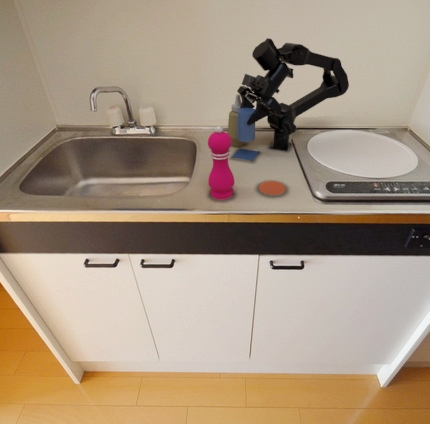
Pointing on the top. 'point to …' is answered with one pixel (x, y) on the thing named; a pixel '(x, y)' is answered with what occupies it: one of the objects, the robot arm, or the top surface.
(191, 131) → the top surface
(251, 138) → the blue tin
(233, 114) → the squeeze bottle
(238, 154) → the blue mat
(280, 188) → the terracotta mat
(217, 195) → the pepper mill
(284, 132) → the robot arm
